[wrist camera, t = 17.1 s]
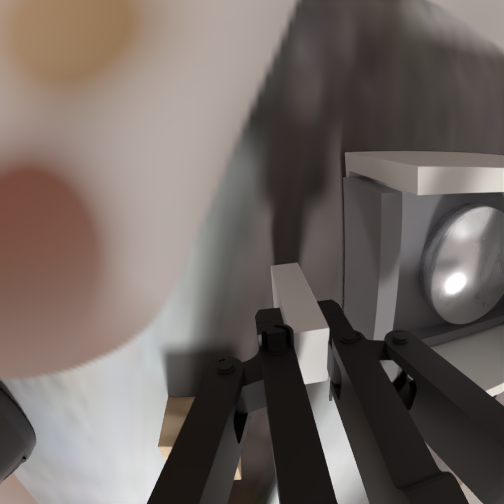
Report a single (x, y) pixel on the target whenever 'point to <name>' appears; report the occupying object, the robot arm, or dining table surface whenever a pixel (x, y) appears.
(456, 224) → the shiny silver disc
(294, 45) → the dining table surface
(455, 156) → the white drawer housing
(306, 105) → the dining table surface
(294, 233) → the dining table surface
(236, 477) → the oak block
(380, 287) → the tray
